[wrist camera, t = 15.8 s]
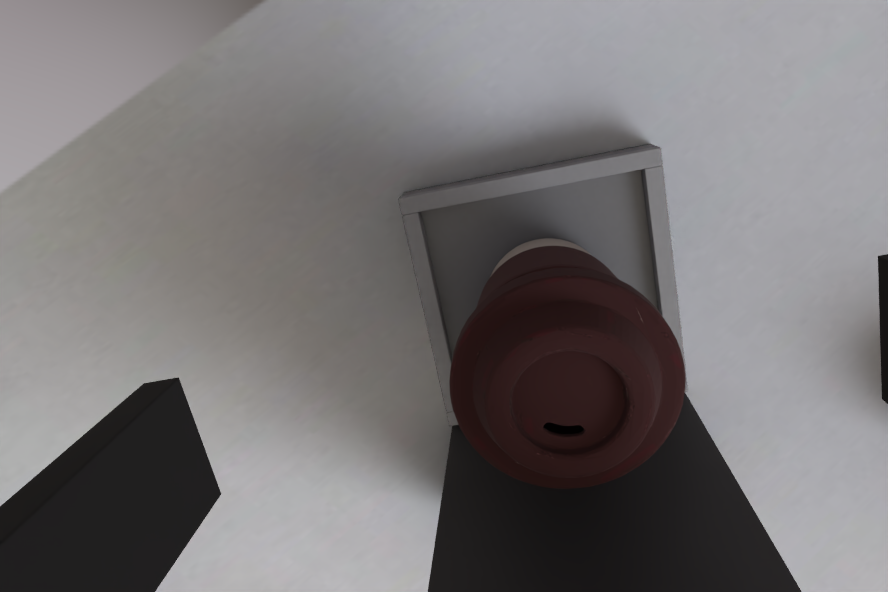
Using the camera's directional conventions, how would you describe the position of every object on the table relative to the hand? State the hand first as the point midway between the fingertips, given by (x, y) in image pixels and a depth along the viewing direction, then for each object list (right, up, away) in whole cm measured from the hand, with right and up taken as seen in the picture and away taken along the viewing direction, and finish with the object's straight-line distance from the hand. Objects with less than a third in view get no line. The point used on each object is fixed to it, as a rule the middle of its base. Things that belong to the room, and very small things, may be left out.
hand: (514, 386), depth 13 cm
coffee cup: (+5, +2, +29) cm, 29 cm away
